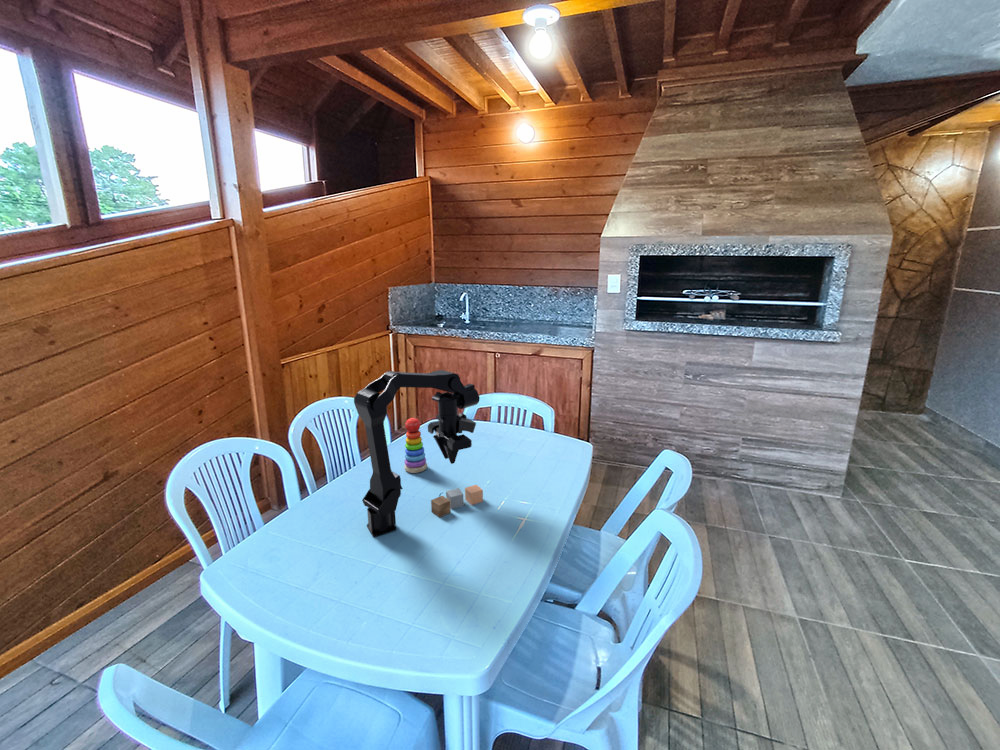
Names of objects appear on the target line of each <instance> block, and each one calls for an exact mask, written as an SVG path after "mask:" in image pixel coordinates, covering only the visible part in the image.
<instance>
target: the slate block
mask: <svg viewBox="0 0 1000 750" xmlns="http://www.w3.org/2000/svg"><path fill="white" fill-rule="evenodd" d="M445 498H447V499H448V500H450V508H451V510H453V509H457V508H460V507H464V505H465V504H464V493H463V492H462V490H461V489H460V488H454V489H450V490H446V491H445Z"/></svg>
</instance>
